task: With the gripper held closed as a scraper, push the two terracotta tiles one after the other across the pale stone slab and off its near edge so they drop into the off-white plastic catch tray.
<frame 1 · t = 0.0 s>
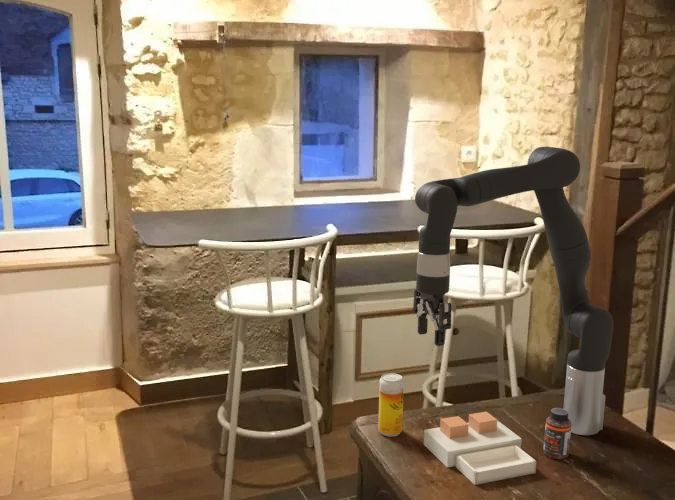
hand: (430, 339, 174), 29 cm above the table, tool pointing down, fingers open, 8 cm apart
supplement bottle: (555, 455, 181), on the table
tile a: (482, 428, 186), point 4 cm above the table, touching slab
tile b: (453, 433, 183), point 4 cm above the table, touching slab
tray: (495, 470, 174), on the table
beer can: (390, 433, 192), on the table
slab: (471, 449, 183), on the table
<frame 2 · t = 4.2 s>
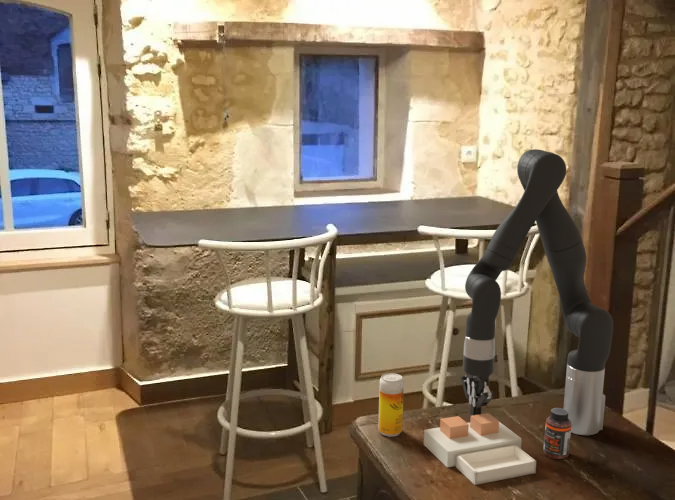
hand: (475, 418, 189), 5 cm above the table, tool pointing down, fingers closed
nothing on the table moved.
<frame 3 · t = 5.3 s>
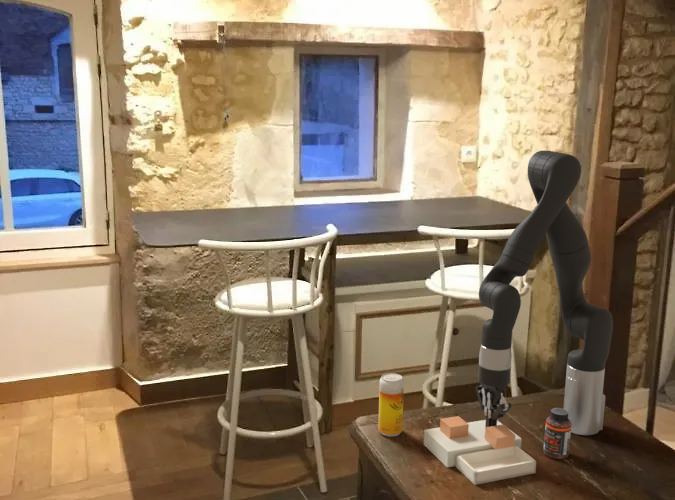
hand: (490, 430, 182), 5 cm above the table, tool pointing down, fingers closed
tile a: (498, 442, 179), point 4 cm above the table, tilted 7°, touching gripper, slab
everything else where it was.
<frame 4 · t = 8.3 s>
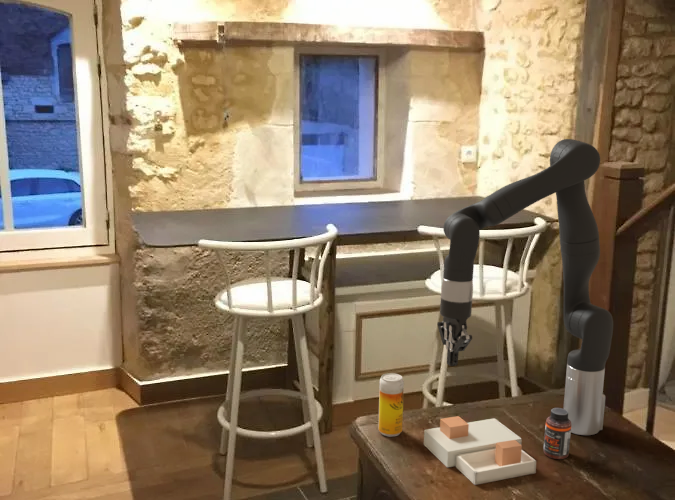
hand: (452, 364, 184), 20 cm above the table, tool pointing down, fingers closed
tile a: (504, 451, 176), point 3 cm above the table, tilted 90°, touching tray
everything else where it was.
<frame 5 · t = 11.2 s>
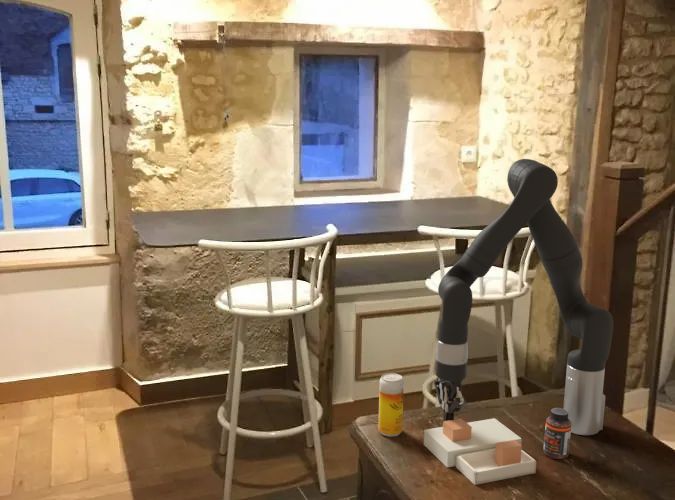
hand: (448, 424, 185), 5 cm above the table, tool pointing down, fingers closed
tile b: (456, 435, 182), point 4 cm above the table, touching gripper
everything else where it was.
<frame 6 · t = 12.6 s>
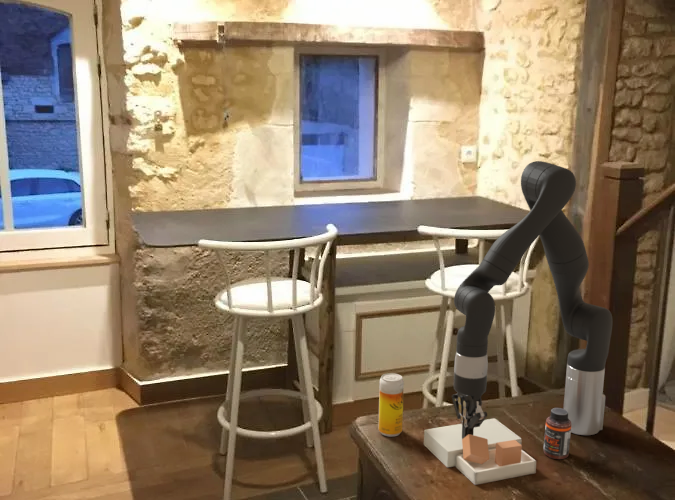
hand: (467, 439, 177), 5 cm above the table, tool pointing down, fingers closed
tile b: (472, 451, 175), point 4 cm above the table, tilted 43°, touching gripper, slab, tray
everything else where it was.
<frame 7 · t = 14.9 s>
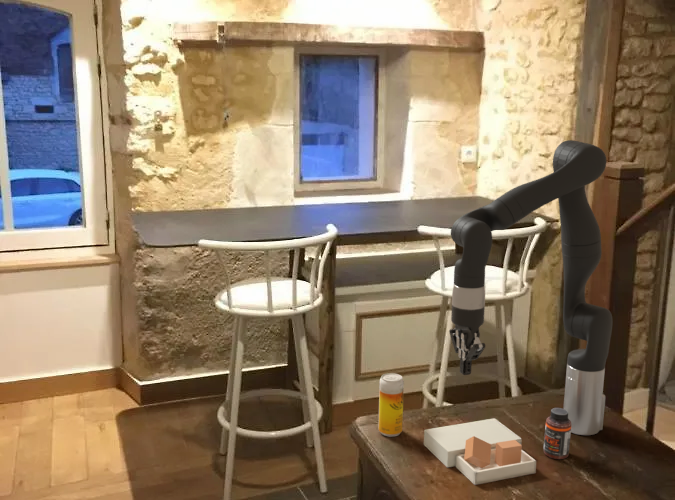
hand: (465, 373, 178), 20 cm above the table, tool pointing down, fingers closed
tile b: (473, 454, 174), point 3 cm above the table, tilted 50°, touching tray
everything else where it was.
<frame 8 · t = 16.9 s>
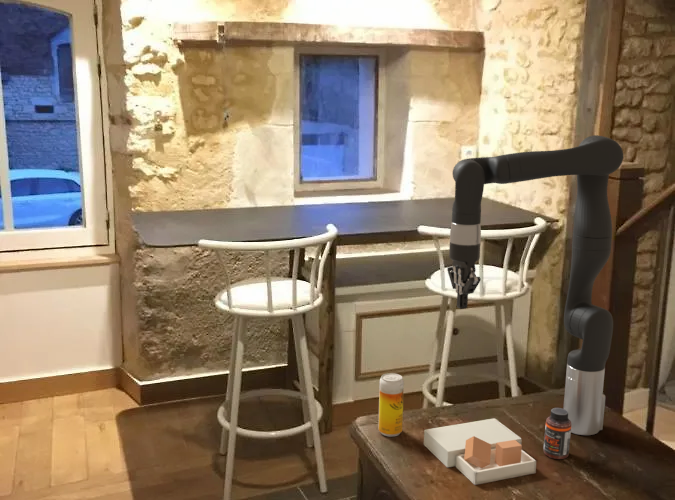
hand: (461, 307, 190), 32 cm above the table, tool pointing down, fingers closed
nothing on the table moved.
at the end: tile a inside the target area on the tray (4.3 cm from its centre), point 3.1 cm above the tray's base; tile b inside the target area on the tray (5.1 cm from its centre), point 3.3 cm above the tray's base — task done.
